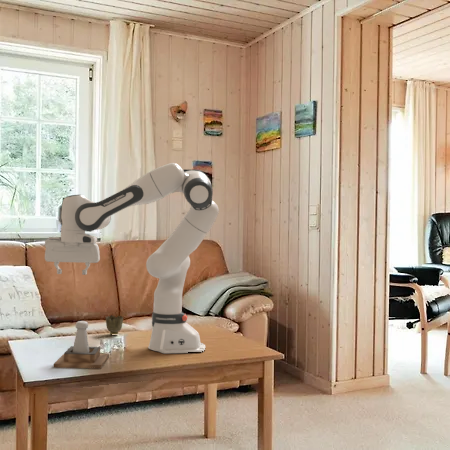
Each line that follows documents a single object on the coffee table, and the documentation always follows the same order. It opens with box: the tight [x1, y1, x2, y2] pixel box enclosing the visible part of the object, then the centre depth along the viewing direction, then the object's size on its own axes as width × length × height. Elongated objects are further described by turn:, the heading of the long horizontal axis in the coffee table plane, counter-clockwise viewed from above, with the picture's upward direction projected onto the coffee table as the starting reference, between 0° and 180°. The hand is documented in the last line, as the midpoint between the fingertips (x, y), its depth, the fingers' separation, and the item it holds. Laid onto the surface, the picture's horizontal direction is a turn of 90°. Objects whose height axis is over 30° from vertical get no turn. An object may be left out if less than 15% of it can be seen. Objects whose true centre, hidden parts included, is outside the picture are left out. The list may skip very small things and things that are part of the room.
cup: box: [105, 315, 124, 336], centre depth 252 cm, size 8×7×8 cm
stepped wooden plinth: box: [53, 345, 110, 370], centre depth 205 cm, size 16×16×4 cm
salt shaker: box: [73, 320, 90, 353], centre depth 206 cm, size 6×6×13 cm
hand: (71, 274), depth 221 cm, fingers open, 8 cm apart
